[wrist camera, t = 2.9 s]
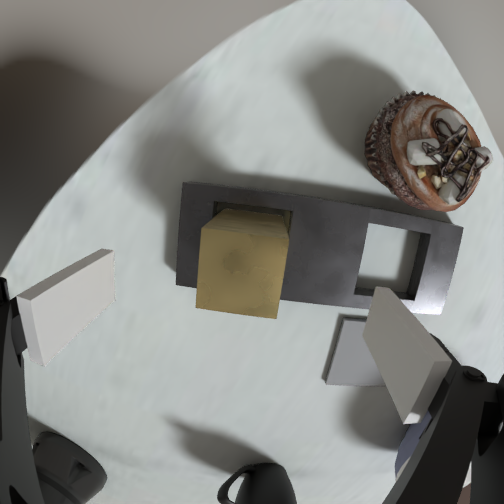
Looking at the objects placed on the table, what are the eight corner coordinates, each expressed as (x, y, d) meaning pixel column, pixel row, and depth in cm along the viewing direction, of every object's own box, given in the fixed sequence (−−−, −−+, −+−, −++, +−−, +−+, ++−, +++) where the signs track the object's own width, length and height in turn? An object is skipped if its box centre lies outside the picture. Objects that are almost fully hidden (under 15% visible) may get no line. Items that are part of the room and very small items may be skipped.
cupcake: (458, 144, 24) (523, 139, 15) (414, 222, 27) (473, 247, 17) (385, 82, 23) (435, 46, 14) (335, 163, 26) (371, 158, 16)
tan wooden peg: (219, 262, 28) (195, 307, 19) (225, 208, 27) (201, 227, 18) (273, 269, 28) (276, 319, 19) (281, 215, 27) (289, 239, 17)
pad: (325, 381, 31) (325, 384, 31) (343, 317, 29) (344, 320, 29) (389, 382, 31) (390, 385, 30) (411, 322, 29) (413, 325, 28)
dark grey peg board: (181, 277, 29) (175, 284, 27) (189, 181, 27) (182, 182, 25) (432, 306, 29) (440, 314, 27) (453, 223, 26) (463, 227, 24)
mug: (252, 436, 34) (248, 496, 25) (306, 473, 36) (310, 524, 27) (207, 457, 36) (196, 510, 26) (262, 490, 38) (260, 538, 28)
